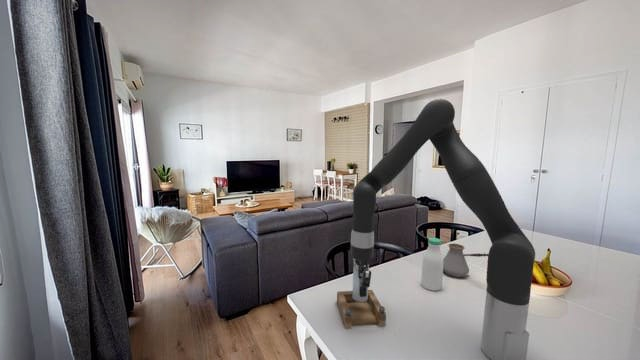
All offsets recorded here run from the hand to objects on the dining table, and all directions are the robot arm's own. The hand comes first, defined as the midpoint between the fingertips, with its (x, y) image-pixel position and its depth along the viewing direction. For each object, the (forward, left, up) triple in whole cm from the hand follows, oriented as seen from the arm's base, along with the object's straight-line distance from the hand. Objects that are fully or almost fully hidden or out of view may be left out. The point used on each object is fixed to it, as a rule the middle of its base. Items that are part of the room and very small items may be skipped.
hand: (360, 291), depth 87 cm
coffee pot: (+19, -52, -8) cm, 56 cm away
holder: (0, 0, -8) cm, 8 cm away
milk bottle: (+14, -34, -8) cm, 38 cm away
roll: (0, 0, -2) cm, 2 cm away
